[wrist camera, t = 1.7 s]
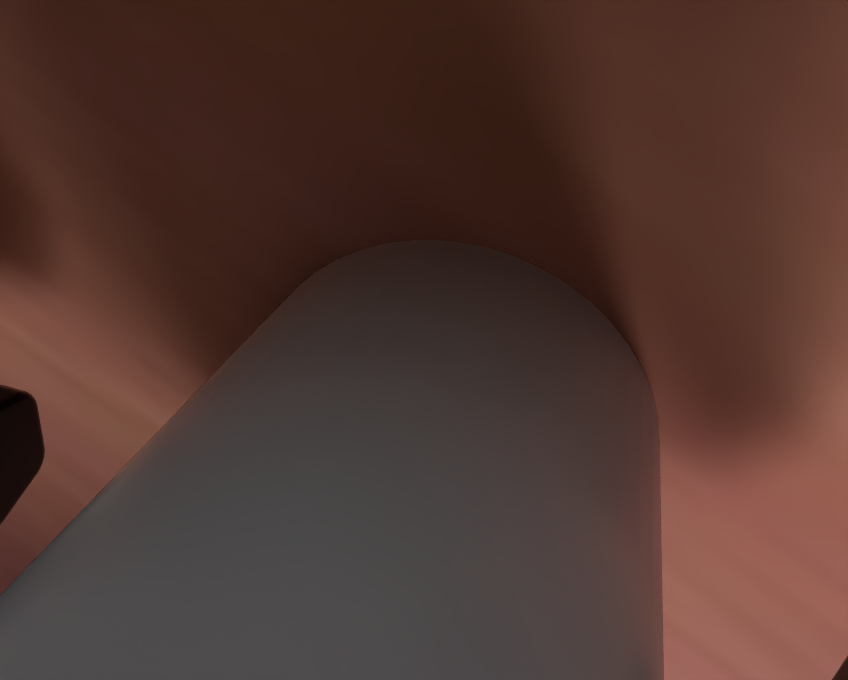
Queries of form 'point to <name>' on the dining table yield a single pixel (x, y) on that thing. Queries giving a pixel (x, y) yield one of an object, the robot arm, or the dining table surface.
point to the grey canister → (377, 497)
